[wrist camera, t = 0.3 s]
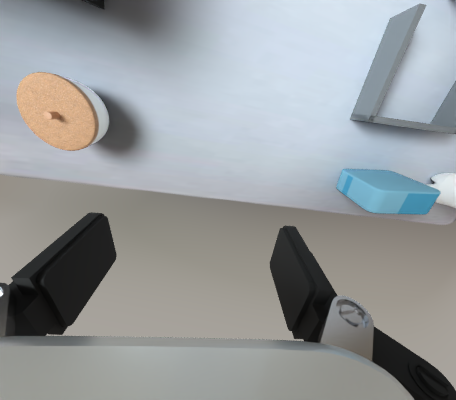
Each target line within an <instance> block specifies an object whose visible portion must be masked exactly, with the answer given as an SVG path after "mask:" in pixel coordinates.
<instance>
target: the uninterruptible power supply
mask: <svg viewBox="0 0 456 400" xmlns="http://www.w3.org/2000/svg"><path fill="white" fill-rule="evenodd" d="M82 1H85V2H87V3H89V4H92V5H94V6H97V7H99V8H102V9H104V0H82Z"/></svg>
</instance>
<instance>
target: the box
mask: <svg viewBox="0 0 456 400" xmlns="http://www.w3.org/2000/svg"><path fill="white" fill-rule="evenodd" d="M425 7H426V5H424V4H418V5H416V6H414V7H412V8H410V9H408V10H406V11H404V12H402V13H400V14H398V15H396V16H394V17H392V18H390V20H389V23H388V25H387V28H386V30H385V33H384V35H383V38H382V40H381V43H380V45H379V48H378V50H377V53H376V55H375V58H374V60H373V63H372V65H371V68H370V70H369V73H368V75H367V78H366V80H365V83H364V85H363V88H362V90H361V93H360V95H359V98H358V100H357V103H356V105H355V108H354V110H353V113H352V115H351V118H350V119H351V120H358V121H365V122H372V123H379V124H386V125H393V126H400V127H407V128H414V129H421V130H428V131H436V132H443V133H450V134H456V81H455V83H454V85H453V87H452V88H451V90H450V92H449V93H448V95H447V97H446V98H445V100H444V102H443V103H442V105H441V107H440V108H439V110H438V112H437V113H436V115H435V117H434V119H433V120H432V122H431V124H426V123H419V122H412V121H406V120H399V119H392V118H385V117H378V116H376V114H377V112H378V110H379V108H380V106H381V103H382V101H383V99H384V97H385V95H386V93H387V90H388V88H389V86H390V84H391V82H392V79H393V77H394V75H395V73H396V71H397V68H398V66H399V64H400V62H401V60H402V57H403V55H404V53H405V51H406V49H407V47H408V44H409V42H410V40H411V38H412V36H413V33H414V31H415V29H416V27H417V25H418V22H419V20H420V18H421V16H422V14H423V12H424V9H425Z"/></svg>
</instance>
